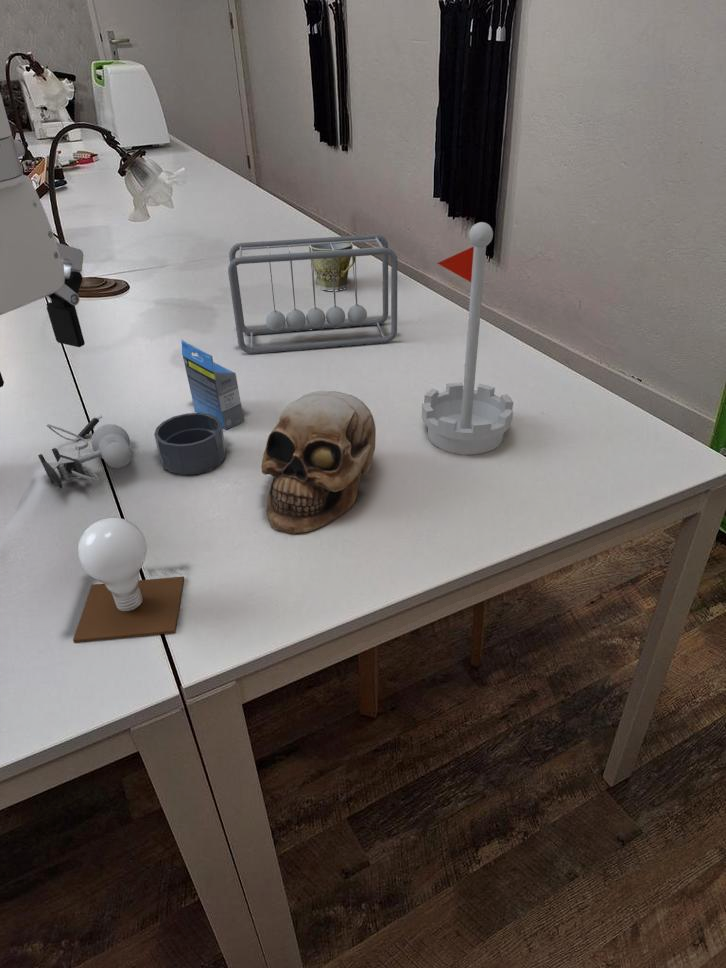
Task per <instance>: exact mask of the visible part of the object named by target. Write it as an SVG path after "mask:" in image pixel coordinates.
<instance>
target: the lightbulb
mask: <svg viewBox="0 0 726 968" xmlns="http://www.w3.org/2000/svg"><path fill="white" fill-rule="evenodd" d="M147 547H148V545H147V541H146V538H145V536H144V533H143V532H142V531H141V529H140V528H139V527H138V526H137V525H136V524H135V523H134V522H132V521H129V520H127V519H124V518H121V517H106V518H102V519H98V520H97V521H95V522H93V523H92V524H91V525H89V526H88V527H87V528H86V529H85V530H84V532H83V533H82V534H81V536H80V538H79V541H78V543H77V559H78V562H79V564H80V566H81V567H82V569H83V570H84V572H85V573H86V574H87V575H89V577H91V578H93V579H95V580H96V581H97V582H98V581H99V582H100V583H102V584H105V586H106V587H107V589H108V590H109V591H111V592H112V595H113V597H114V601H115V604H116V607H117V608H118V609H119V610H121V611H130V610H133V609H135V608H137V607H138V606H139V605H140V604H141V603H142V595H141V591H140V588H139V585H138V582H139V580H140V570H141V569H142V567H143V565H144V563H145V561H146V559H147V553H148V552H147V551H148V548H147Z"/></svg>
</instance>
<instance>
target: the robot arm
mask: <svg viewBox="0 0 726 968" xmlns="http://www.w3.org/2000/svg"><path fill="white" fill-rule="evenodd" d="M25 154H26V149H25V146H24V144H23V142H21V141H20V140H19V139H14V137H13V135H12V130H11V126H10V122H9V119H8V115H7V111H6V107H5V104H4V101H3V97H2V94H1V93H0V316H2V315H4V314H7V313H10V312H13V311H15V310H17V309H20V308H22V307H25V306H27V305H29V304H32V303H34V302H37V301H39V300H41V299H44V298H46V299H48V300H49V301H50V302H47V303H46V311H47V314H48V317H49V321H50V324H51V327H52V328H51V329H52V331H53V334H54V337H55V338H54V339H55V341H56V342H57V343H58V344H63V345H67V346H72V347H76V348H81V347H83V346H85V343H86V342H85V339H84V335H83V332H82V327H81V323H80V320H79V317H78V312H77V309H76V306H78V305H79V303H80V295H79V294H78V293H79V291H80V288H81V285H82V283H83V274H82V271H83V265H84V264H83V263H84V252H83V250H82V249H80V248H76V247H75V246H74V247H73V246H69V245H66V244H64V243H60V242H57V241H56V238H55V235H54V232H53V229H52V226H51V223H50V221H49V217H48V215H47V213H46V211H45V208H44V205H43V203H42V200H41V198H40V196H39V194H38V192H37V190H36V188H35V186H34V184H33V182H32V180H31V178H30V176H28V175H26V174H24V172H23V169H22V165H21V160H20V158H22V157H24V156H25ZM4 384H5V381H4V378H3V375H2V373H1V371H0V388H2V387H3V386H4Z"/></svg>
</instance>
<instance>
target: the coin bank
mask: <svg viewBox="0 0 726 968" xmlns="http://www.w3.org/2000/svg"><path fill="white" fill-rule="evenodd" d="M376 431H377V430H376V423H375V419H374V416H373V414H372V412H371V410H370V408H369V407H368V406H367V405H366V404H365V402H364V401H363V400H361V399H360V398H358V397H356V396H354V395H352V394H348V393H345V392H341V391H336V390H318V391H312V392H309V393H306V394H304V395H302V396H300V397H299V398H297V399H295V400H293V401H291V402H290V403H289V404H288V405H287V406H286V407H285V408H284V409H283V411H282V412H281V414H280V417H279V420H278V422H277V423H276V425H275V426H274V428H273V429H272V431H271V432H270V433H269V435H268V437H267V440H266V444H265V449H264V452H263V456H262V460H261V465H260V469H261V473H262V474H263V475H271V476H272V481H271V485H270V487H269V492H268V497H267V504H266V505H267V506H266V517H267V520H268V521H269V524H270V526H271V528H272V529H273V530H275V531H281V532H283V533H287V534H299V533H309V532H312V531H315V530H317V529H319V528H321V527H323V526H325V525H327V524H328V523H329V522H331V521H333V520H335V519H338V518H339V517H340V516H341V515H342V514H344V513H345V512H348V511H350V509H352V508H353V506H354V504H355V502H356V499H357V495H358V489H359V485H360V480H361V476H362V475H366V474H367V473H368V472H369V470H370V468H371V466H372V463H373V458H374V453H375V450H376V440H377V439H376V438H377V437H376V435H377V434H376Z"/></svg>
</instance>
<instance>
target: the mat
mask: <svg viewBox="0 0 726 968" xmlns="http://www.w3.org/2000/svg"><path fill="white" fill-rule="evenodd" d="M184 584H185V576H175V577H174V576H173V577H162V578H160V577H159V578H150V579H149V578H148V579H139V582H138V585H139V588H140V591H141V595H142V603H141V604H140V605H139V606H138V607H137V608H135V609H133V610H130V611H121V610H119V609H118V608H117V607H116V604H115V601H114V597H113V595H112V592H111V591H109V590H108V589H107V587H106V586H105V584H104V583H93V584H91V586H90V588H89V590H88V593H87V594H88V595H87V597H86V600H85V603H84V606H83V610H82V612H81V615H80V618H79V621H78V624H77V627H76V630H75V633H74V636H73V638H72V642H73V643H75V644H76V643H84V642H95V641H105V640H106V641H107V640H116V639H128V638H134V637H135V638H137V637H149V636H157V635H158V636H159V635H167V634H168V635H169V634H170V635H171V634H175V633H176V629H177V625H178V619H179V618H178V617H179V612H180V607H181V600H182V594H183V590H184Z"/></svg>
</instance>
